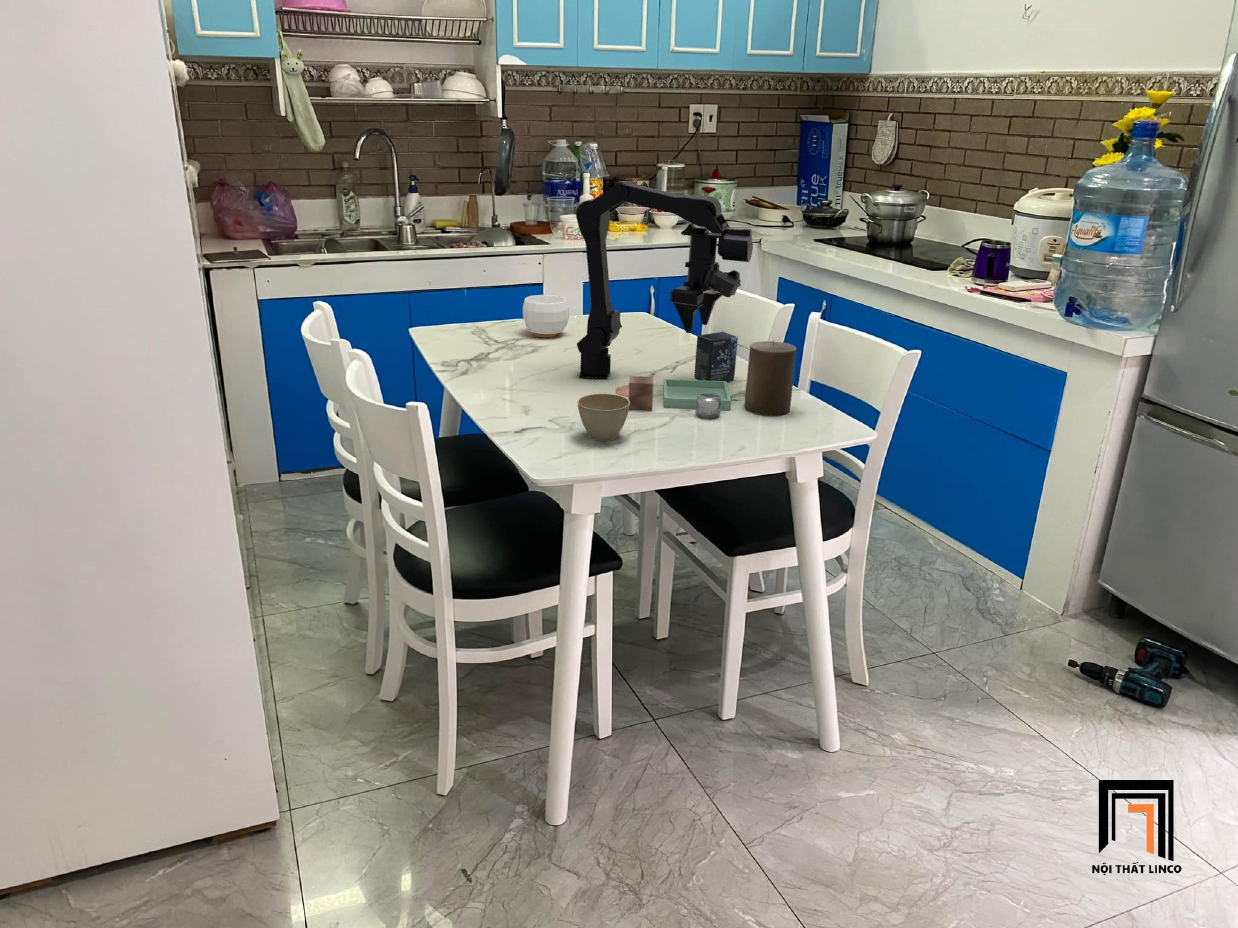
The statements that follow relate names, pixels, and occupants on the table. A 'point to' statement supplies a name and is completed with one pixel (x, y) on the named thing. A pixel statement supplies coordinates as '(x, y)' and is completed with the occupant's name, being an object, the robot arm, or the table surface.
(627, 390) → the pink dome
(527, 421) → the table surface
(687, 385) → the tray
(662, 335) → the table surface
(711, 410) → the grey tin
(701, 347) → the box
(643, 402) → the walnut block
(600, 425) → the flower pot
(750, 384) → the pillar candle
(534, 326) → the cup
